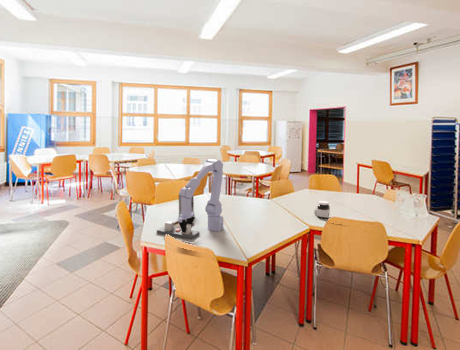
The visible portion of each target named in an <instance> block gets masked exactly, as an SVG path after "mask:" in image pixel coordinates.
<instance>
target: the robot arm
mask: <svg viewBox="0 0 460 350" xmlns="http://www.w3.org/2000/svg"><path fill="white" fill-rule="evenodd" d="M223 166H224V163H223V162H222V160H220V159H212V158H207V159H206V160H205V162H203V166H202V168H201V169H200V170H199V171H198V173H197V174H196V176H195V177H192V178H190V179H189V181H188V182H187V184H185V186H184V187H181V188H180V190H179V192H178V196H179V195H180V196H181V208H182V214H181V215H180V216H179V218H177V221H178V223H179V225H180V227H181V230H182V232H184V233H185V232H186V226H187V224H191V229H192V227H193V226H192V224H193V223H194V222H195V219H196V216H195V211H194V212H191V197H193V198H194V195H195V191H196V189H197V188H198V187H199V186H200V185H201V180H202V179H203V178H205V176H206V175H207V174H208V173H210V172H211V173H212V174H213V179H212V180H213V181H212V184H211V185H212V186H211V193H210V198H209V199H208V201H207V202H206V205H205V212H206V215H207V227H205V230H210V231H213V232H220V231H221V230H223V229H224V216H221V214H222V212H223V209H222V206H223V205H222V203H221V202H220V197H221V191H222V190H221V189H222V183H223V177H224V171H223V169H224V167H223Z"/></svg>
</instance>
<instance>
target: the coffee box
mask: <svg viewBox="0 0 460 350" xmlns="http://www.w3.org/2000/svg"><path fill="white" fill-rule="evenodd" d="M194 205H195V204H194V196H193V197H191V212H194V213H195V211H194V209H195V207H194ZM181 214H182V208H181V196H180V195H179V194H178V216H179V217H181V216H180V215H181Z"/></svg>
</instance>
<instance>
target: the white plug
mask: <svg viewBox="0 0 460 350" xmlns="http://www.w3.org/2000/svg"><path fill="white" fill-rule="evenodd" d="M191 230H192V228H191V224H187V226H186V232H185V233H184V232H182V234H187V235H189V234H190V233H191Z"/></svg>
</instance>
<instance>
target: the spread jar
mask: <svg viewBox="0 0 460 350" xmlns="http://www.w3.org/2000/svg"><path fill="white" fill-rule="evenodd" d="M329 204H330V202H329V201H327V200H319V201H318V205H317V206H316V208H314V210H313V214H314V215H316V217H317V218H318V219H321V220H327V219H329V217H330V209H331V208H330V205H329Z"/></svg>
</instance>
